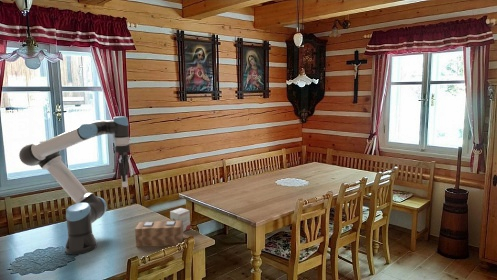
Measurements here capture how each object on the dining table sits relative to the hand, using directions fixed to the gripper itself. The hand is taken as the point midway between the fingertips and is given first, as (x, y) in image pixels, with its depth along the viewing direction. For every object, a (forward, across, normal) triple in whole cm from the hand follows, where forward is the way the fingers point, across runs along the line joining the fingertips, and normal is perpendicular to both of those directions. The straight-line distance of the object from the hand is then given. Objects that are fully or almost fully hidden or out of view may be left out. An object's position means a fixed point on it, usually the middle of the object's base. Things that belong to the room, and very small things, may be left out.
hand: (125, 186), depth 194 cm
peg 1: (+30, -6, -13) cm, 33 cm away
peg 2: (+30, -6, -25) cm, 39 cm away
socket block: (+30, -6, -19) cm, 36 cm away
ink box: (+31, +11, -28) cm, 43 cm away
